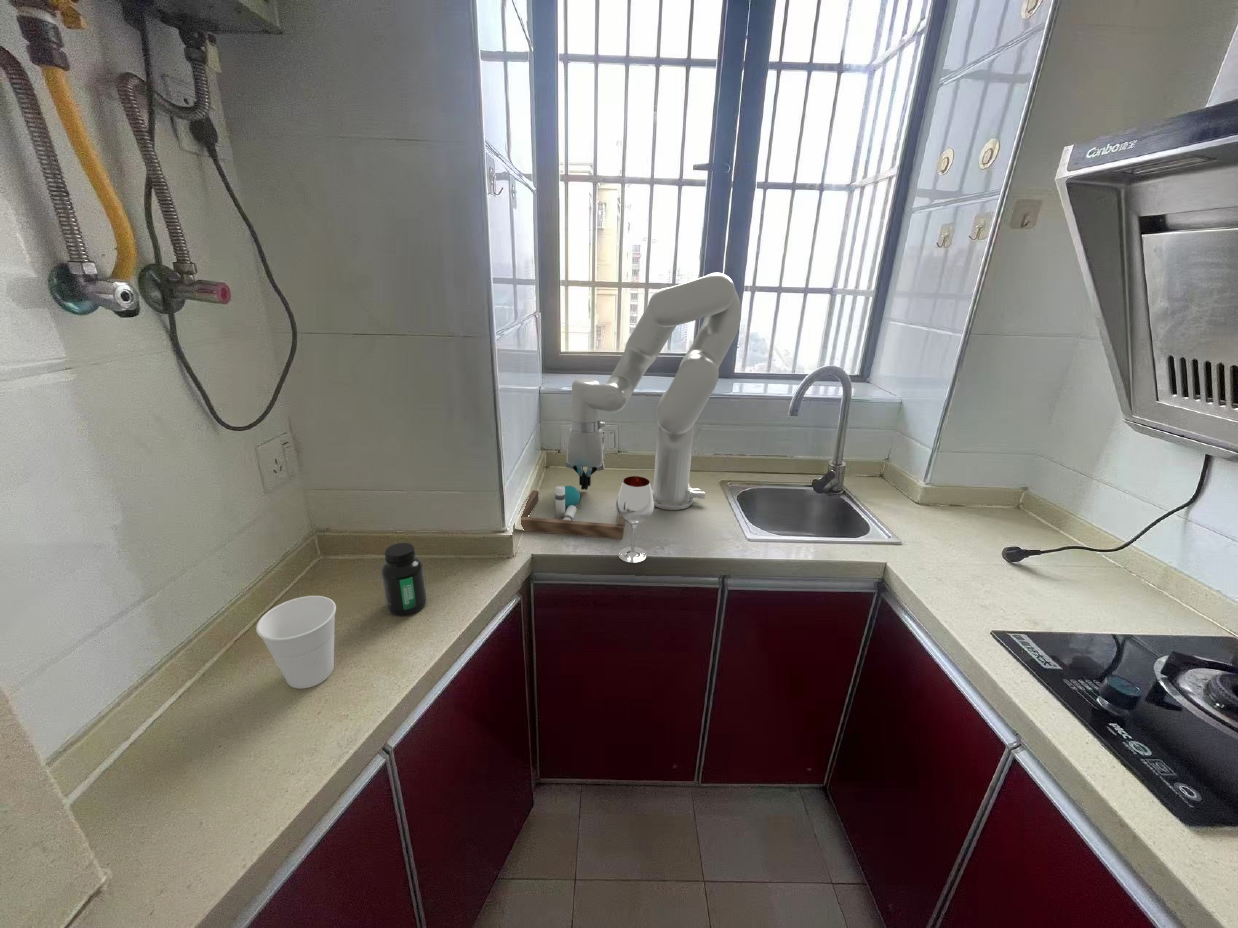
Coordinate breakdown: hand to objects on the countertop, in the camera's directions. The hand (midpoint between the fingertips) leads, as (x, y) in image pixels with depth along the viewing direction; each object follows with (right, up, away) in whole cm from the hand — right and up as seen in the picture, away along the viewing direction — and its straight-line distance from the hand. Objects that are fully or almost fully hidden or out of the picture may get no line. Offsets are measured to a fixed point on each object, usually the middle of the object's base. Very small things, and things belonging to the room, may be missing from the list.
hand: (585, 487), depth 141 cm
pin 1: (-5, -7, -14) cm, 17 cm away
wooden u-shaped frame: (-2, -7, -13) cm, 15 cm away
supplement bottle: (-30, -20, -48) cm, 60 cm away
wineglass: (+13, -14, -29) cm, 35 cm away
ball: (-4, -2, -10) cm, 10 cm away
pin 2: (-3, -5, -12) cm, 13 cm away
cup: (-37, -26, -64) cm, 79 cm away
